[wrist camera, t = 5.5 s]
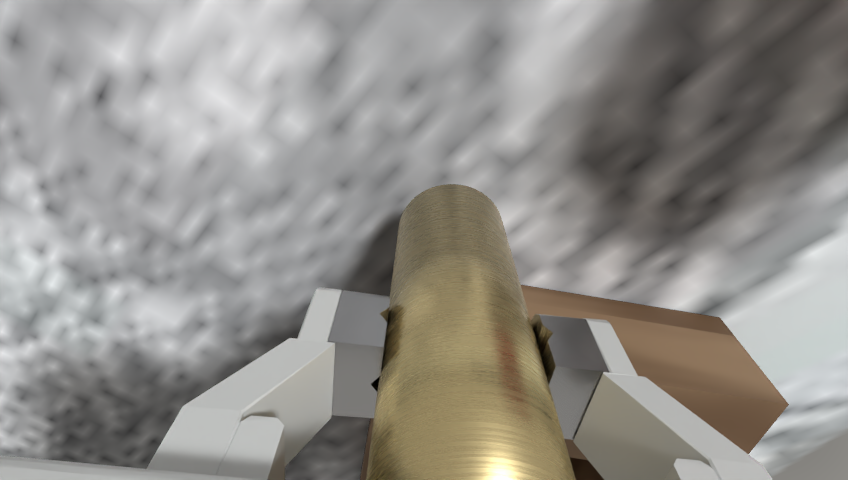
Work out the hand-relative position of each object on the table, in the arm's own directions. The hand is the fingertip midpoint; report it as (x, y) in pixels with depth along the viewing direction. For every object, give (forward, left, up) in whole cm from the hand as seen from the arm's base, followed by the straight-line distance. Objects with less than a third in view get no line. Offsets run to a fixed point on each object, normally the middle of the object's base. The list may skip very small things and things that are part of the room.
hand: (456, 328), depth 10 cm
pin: (0, 0, -4) cm, 4 cm away
